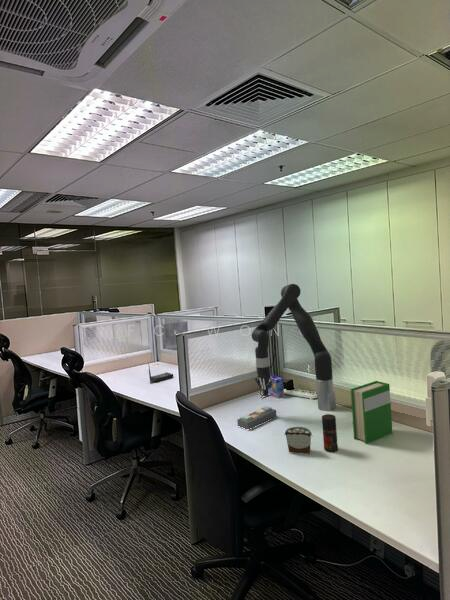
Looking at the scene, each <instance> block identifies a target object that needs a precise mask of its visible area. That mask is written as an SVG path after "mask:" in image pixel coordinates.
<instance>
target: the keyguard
mask: <svg viewBox="0 0 450 600" xmlns="http://www.w3.org/2000/svg"><path fill="white" fill-rule="evenodd" d="M253 414H255V411H253V412H250V413H249V414H248V415H249V416H250V415H253ZM255 415H257V414H255ZM277 416H278V415H277V409H274V408H272V411H271V412H268V413H267V412H265V414H264V415H262V416H261V415H259V417H257V418H255V419H254V418H252V420H251V421H249V422H246V421H243V420H242V418H241V417H240V418H238V419H237V421H236V422H237V427H238V426H240V427H243V428H245V429H244V430H246V429H250V428H252V429H254V428H253V427H255V426H257V425H259V424H261V425H262V423H263V424H265V423H267V422H269V421H271V420H274V419H275V418H277ZM270 419H271V420H270ZM268 420H269V421H268ZM266 421H267V422H266ZM264 422H265V423H264ZM259 426H260V425H259ZM240 427H239V428H240ZM257 427H258V426H257ZM243 428H242V429H243ZM255 428H256V427H255ZM250 430H251V429H250Z"/></svg>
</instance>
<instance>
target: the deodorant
mask: <svg viewBox="0 0 450 600" xmlns="http://www.w3.org/2000/svg"><path fill="white" fill-rule="evenodd" d="M321 424H322V437H323V438H322V439H323V450H324V452H327V453H336V452H338V450H339V447H338V435H337V434H338V433H337V420H336V415H334V414H329V413H327V414H324V415H322V416H321Z"/></svg>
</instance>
